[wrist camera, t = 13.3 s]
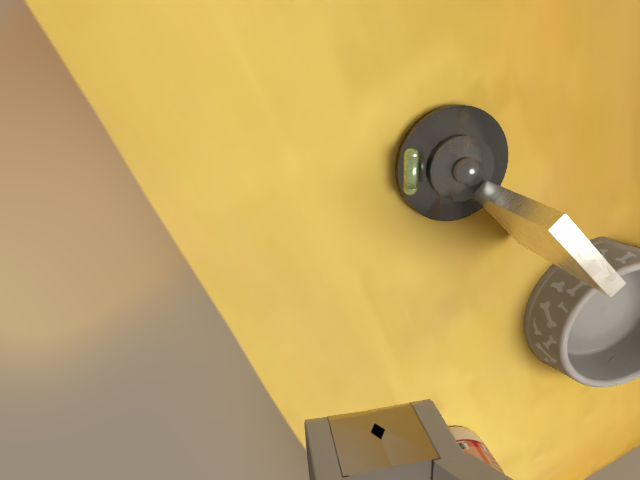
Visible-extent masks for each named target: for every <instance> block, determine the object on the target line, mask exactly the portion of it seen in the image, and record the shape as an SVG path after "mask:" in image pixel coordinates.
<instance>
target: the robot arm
mask: <svg viewBox="0 0 640 480" xmlns="http://www.w3.org/2000/svg"><path fill="white" fill-rule="evenodd" d="M304 424H305V437H306V449H307V460H308V470H309V479H310V480H513V479H511V478H509V477H508V476H506V475H505V474H503V473H501V472H500V471H498V470H497V469H495V468H493V467H492V466H490V465H489V464H487V463H485V462H484V461H482V460H481V459H479V458H477V457H476V456H474V455H473V454H464V453H463V451H462V449H461V448H460V446H459V444H458V443H457V441H456V439H455V438H454V436H453V434H452V433H451V431H450V429H449V428H448V426H447V424H446V423H445V421H444V419H443V418H442V416H441V414H440V413H439V411H438V409H437V408H436V406H435V404H434V403H433V401H431V400H430V399H428V400H422V401H416V402H411V403H409V404H408V403H406V404H400V405H395V406H389V407H384V408H378V409H372V410H368V411H361V412H354V413H347V414H340V415H333V416H327V418H326V417H323V418H316V419H308V420H305V423H304Z"/></svg>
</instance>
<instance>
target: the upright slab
mask: <svg viewBox="0 0 640 480" xmlns="http://www.w3.org/2000/svg"><path fill="white" fill-rule="evenodd" d="M493 171H494V157H493V153H492V151H491V149H490V147H489V146H488V145H487V144H486V143H485V142H484V141H483V140H481V139H479V138H477V137H473V136H469V135H465V134H456V135H452V136H449V137H447V138H445V139H443V140H442V141H440V142H439V143H438V144H437V145H436V146H435V147H434V148H433V150H432V151H431V153H430V155H429V157H428V160H427V164H426V177H427V181H428V183H429V185H430V187H431V188H432V189H433V190H434V191H435V192H436V193H438V194H439V195H441V196H443V197H444V198H446V199H448V200H451V201H457V202H459V201H466V200H469V199H472V198H475V199H476V200H477V201H478V202H479V203H480V204H481V205H482V206H483V207H484V208H485V209H486V210H487V211H488V212H489V213H490V215H491V216H492V217H493V218H494V219H495V220H496V221H497V222H498V223H499V224H500V225H501V226H502V227H503V228H504V229H505V230H506V231H507V232H508V233H509V234H510V235H511V236H512V237H513V238H514V239H515V240H516V241H517V242H518V243H519V244H521V245H522V246H524V247H526V248H527V249H529V250H531V251H532V252H534V253H536V254H537V255H539V256H541V257H543V258H544V259H546V260H548V261H549V262H551V263H553V264H554V265H556V266H558V267H559V268H561V269H563V270H564V271H566V272H568V273H569V274H571V275H573V276H574V277H576V278H578V279H579V280H581V281H583V282H584V283H586V284H588V285H590V286H591V287H593V288H595V289H596V290H598V291H600V292H601V293H603V294H605V295H606V296H608V297H610V298H611V297H612V296H613V295H614V294H615V293H617V292H618V291H619V290H620V289H621V288H622V287H623V286H624V285H625V284H626V282H625V281H624V280H623V279H622V278H621V277H620V275H619V274H618V273H617V272H616V271H615V270H614V269H613V267H612V266H611V265H610V264H609V263H608V262H607V261H606V259H605V258H604V257H603V256H602V255H601V254H600V253H599V251H598V250H597V249H596V248H595V247H594V246H593V245H592V243H591V242H590V241H589V240H588V239H587V238H586V236H585V235H584V234H583V233H582V232H581V231H580V230H579V228H578V227H577V226H576V225H575V224H574V223H573V222H572V220H571V219H570V218H569V217H568V216H567V215H566V214H565V213H563V212H561V211H558V210H556V209H554V208H551V207H549V206H546V205H544V204H542V203H539V202H537V201H534V200H532V199H530V198H527V197H525V196H522V195H520V194H518V193H515V192H513V191H510V190H508V189H506V188H503V187H501V186H498V185H496V184H494V183H491V182H489V181H490V180H491V177H492V174H493Z"/></svg>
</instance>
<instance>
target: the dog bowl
mask: <svg viewBox="0 0 640 480" xmlns="http://www.w3.org/2000/svg"><path fill="white" fill-rule="evenodd" d="M589 241H590V242H591V243H592V245H593V246H594V247H595V248H596V249H597V250H598V251H599V253H600V254H601V255H602V256H603V257H604V258H605V259H606V261H607V262H608V263H609V264H610V265H611V266H612V267H613V269H614V270H615V271H616V272H617V273H618V274H619V275H620V277H621V278H622V279H623V280H624V281H625V282H626V284H625V285H624V286H623V287H622V288H621V289H620V290H619V291H618V292H617V293H615V294H614V295H613V296H612V297H611V298H610V297H608V296H606V295H605V294H603V293H601V292H600V291H598V290H596V289H595V288H593V287H591V286H590V285H588V284H586V283H584V282H583V281H581V280H579V279H578V278H576V277H574V276H573V275H571V274H569V273H568V272H566V271H564V270H563V269H561V268H559V267H558V266H556V265H554V264H553V265H552V266H551V267H550V268H549V269H548V270H547V271H546V272H545V273H544V275H543V276H542V277H541V278H540V280H539V281H538V283H537V284H536V286H535V288H534V289H533V291H532V293H531V295H530V298H529V300H528V303H527V306H526V310H525V315H524V331H525V336H526V340H527V342H528V345H529V347H530V348H531V350H532V352H533V353H534V354H535V355H536V356H537V357H538V358H539V359H540V360H542V361H543V362H545V363H546V364H548V365H550V366H551V367H553V368H555V369H556V370H558V371H560V372H562V373H563V374H565V375H567V376H569V377H570V378H572V379H574V380H575V381H577V382H579V383H581V384H584V385H587V386H592V387H611V386H616V385H620V384H624V383H627V382H629V381H632V380H634V379H636V378H638V377H640V248H637V247H632V246H629V245H625V244H621V243H618V242H615V241H613V240H610V239H608V238H605V237H598V238H595V239H592V240H589Z"/></svg>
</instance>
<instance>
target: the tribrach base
mask: <svg viewBox="0 0 640 480" xmlns="http://www.w3.org/2000/svg"><path fill="white" fill-rule="evenodd" d="M456 134H465V135H469V136H473V137H477V138H479V139H481V140H483V141H484V142H485V143H486V144H487V145H488V146H489V147H490V149H491V151H492V153H493V157H494V171H493V174H492V177H491V180H490V181H489V182H491V183H494V184H496V185H498V186H500V185H501V183H502V181H503V178H504V176H505V172H506V169H507V163H508V146H507V141H506V137H505V135H504V132H503V130H502V128H501V126H500V125H499V124H498V122H497V121H496V120H495V119H494V118H493V117H492V116H491V115H489V114H488V113H487V112H485V111H483V110H481V109H479V108H475V107H472V106H465V105H449V106H444V107H441V108H438V109H435V110H433V111H431V112H429V113H428V114H426V115H424V116H423V117H422V118H421V119H419V120H418V121H417V122H416V123H415V124H414V125H413V126H412V127H411V129H410V130H409V131H408V133H407V134H406V136H405V137H404V139H403V141H402V143H401V145H400V148H399V151H398V154H397V159H396V180H397V184H398V187H399V190H400V192H401V194H402V196H403V198H404V199H405V201H406V202H407V203H408V204H409V205H410V206H411V207H412V208H413V209H415V210H416V211H417V212H419V213H420V214H422V215H423V216H425V217H428V218H430V219H434V220H439V221H452V220H458V219H461V218H464V217H467V216H469V215H471V214H473V213H475V212H476V211H478V210H479V209H481V208H482V207H483V206H482V205H481V204H480V203H479V202H478V201H477V200H476V199H475V198H472V199H469V200H466V201H459V202H457V201H451V200H448V199H446V198H444V197H443V196H441V195H439V194H438V193H436V192H435V191H434V190H433V189H432V188H431V187H430V185H429V183H428V181H427V177H426V164H427V160H428V157H429V155H430V153H431V151H432V150H433V148H434V147H435V146H436V145H437V144H438V143H439V142H440V141H442V140H443V139H445V138H447V137H449V136H452V135H456Z"/></svg>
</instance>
